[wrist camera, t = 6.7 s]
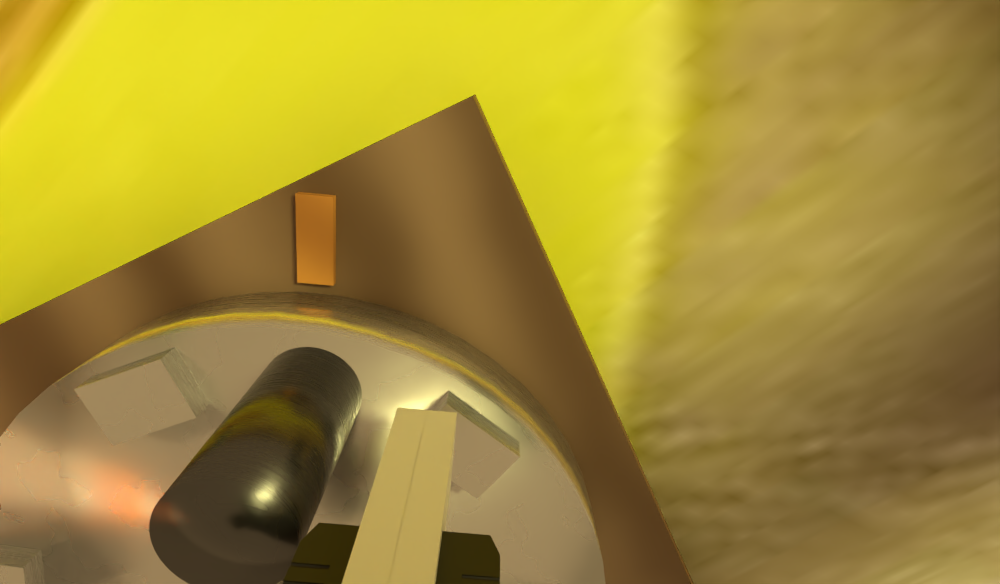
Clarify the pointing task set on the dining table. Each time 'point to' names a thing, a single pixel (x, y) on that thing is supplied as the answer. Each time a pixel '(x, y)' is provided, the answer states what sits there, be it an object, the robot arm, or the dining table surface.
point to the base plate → (387, 298)
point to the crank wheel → (274, 448)
